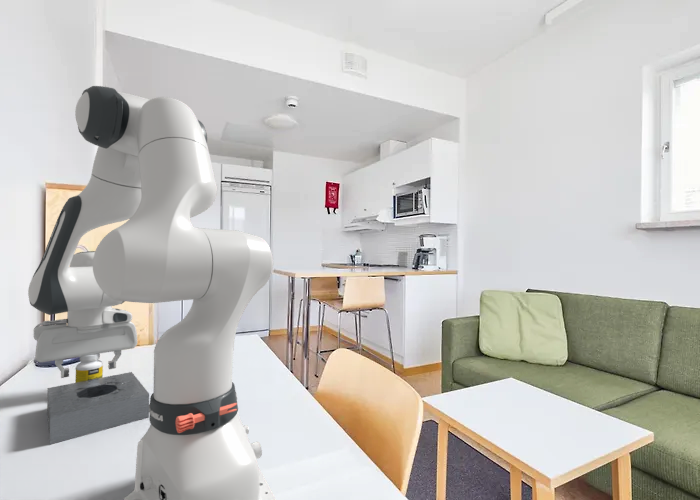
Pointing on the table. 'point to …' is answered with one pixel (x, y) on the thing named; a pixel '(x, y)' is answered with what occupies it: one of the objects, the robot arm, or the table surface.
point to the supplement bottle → (89, 368)
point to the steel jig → (95, 406)
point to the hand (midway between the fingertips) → (89, 372)
